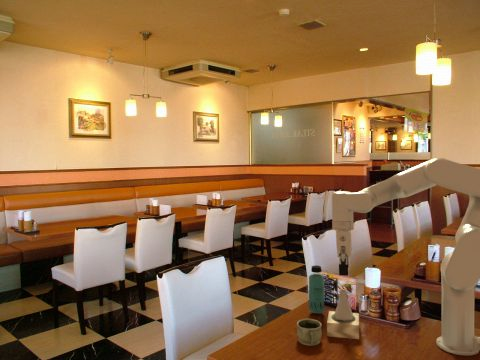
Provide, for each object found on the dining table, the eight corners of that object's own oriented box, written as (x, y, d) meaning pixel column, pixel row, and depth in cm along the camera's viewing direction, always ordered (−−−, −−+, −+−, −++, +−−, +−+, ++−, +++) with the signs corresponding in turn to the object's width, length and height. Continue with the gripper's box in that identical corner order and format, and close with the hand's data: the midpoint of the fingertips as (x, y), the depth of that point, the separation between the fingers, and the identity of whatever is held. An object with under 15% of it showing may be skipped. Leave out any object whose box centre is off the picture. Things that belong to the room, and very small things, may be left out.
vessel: (294, 333, 145) (294, 317, 145) (318, 332, 146) (318, 316, 145) (299, 349, 133) (299, 331, 133) (325, 348, 134) (325, 330, 133)
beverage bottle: (306, 312, 165) (305, 265, 164) (320, 310, 167) (319, 263, 166) (313, 318, 159) (312, 269, 158) (328, 315, 161) (327, 267, 160)
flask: (354, 322, 142) (354, 294, 141) (334, 320, 143) (333, 293, 143) (353, 314, 149) (352, 288, 148) (333, 313, 150) (333, 287, 150)
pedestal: (358, 326, 150) (358, 312, 150) (359, 339, 139) (358, 324, 139) (329, 323, 153) (329, 310, 153) (327, 336, 143) (327, 322, 142)
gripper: (353, 229, 135) (354, 278, 136) (353, 221, 152) (354, 265, 153) (331, 229, 137) (332, 277, 138) (333, 221, 154) (334, 264, 155)
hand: (343, 271), depth 145 cm, fingers open, 9 cm apart
